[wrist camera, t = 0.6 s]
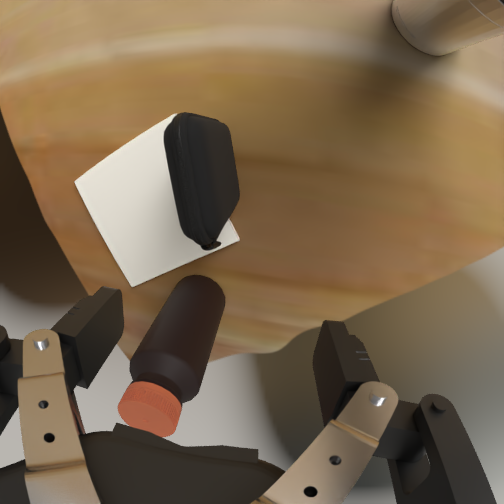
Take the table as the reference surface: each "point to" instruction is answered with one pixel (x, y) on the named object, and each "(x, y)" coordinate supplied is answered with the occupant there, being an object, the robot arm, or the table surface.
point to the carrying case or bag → (201, 176)
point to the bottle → (173, 356)
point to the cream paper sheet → (141, 209)
